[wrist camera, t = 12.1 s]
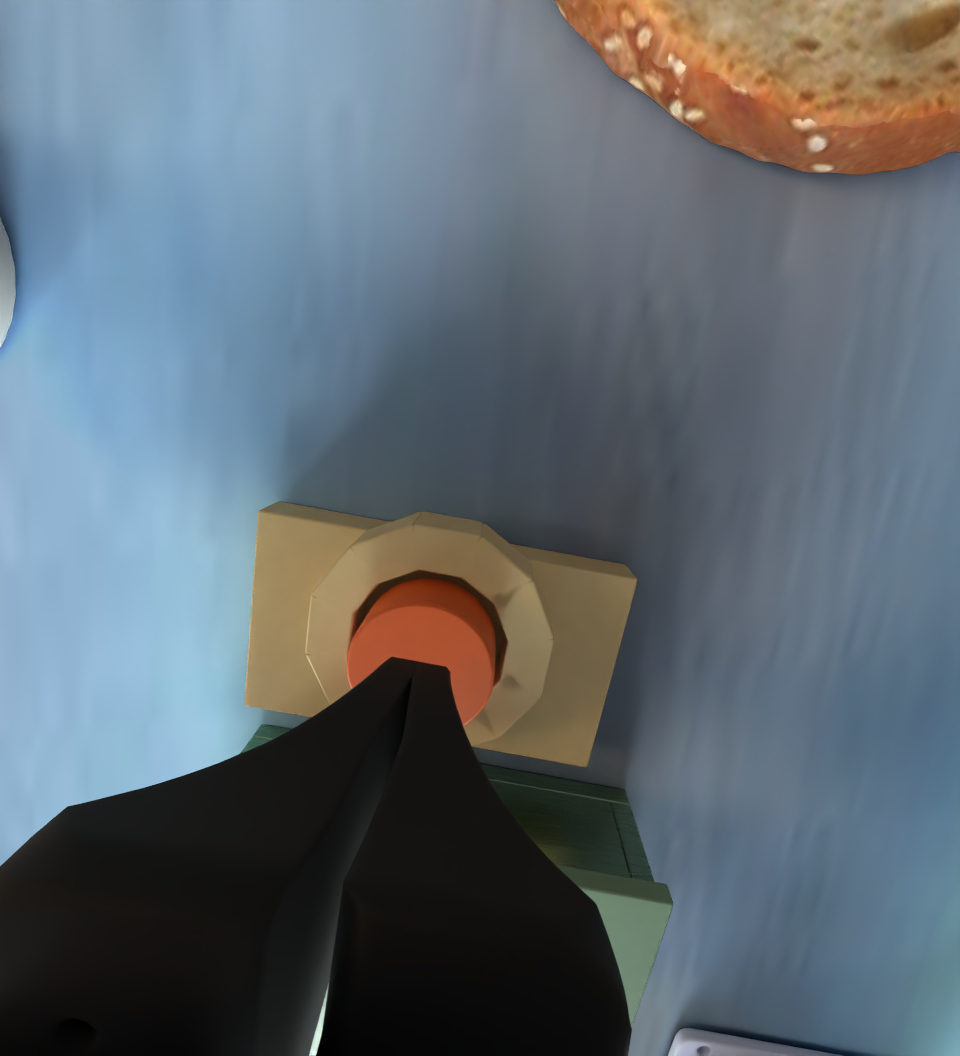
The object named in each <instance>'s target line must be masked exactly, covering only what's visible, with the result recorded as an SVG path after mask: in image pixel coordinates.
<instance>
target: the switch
mask: <svg viewBox="0 0 960 1056" xmlns="http://www.w3.org/2000/svg"><path fill="white" fill-rule="evenodd" d="M495 653H496V637H495V631H494V627H493V624H492V621H491V619H490V616H489V614H488V613H487V611H486V610H485V608H484V607H483V605H482V604H481V603H480V602H479V601H478V600H477V599H476V598H475V597H474V596H473V595H472V594H471V593H469V592H468V591H466V590H465V589H463V588H461V587H459V586H457V585H455V584H453V583H450V582H447V581H443V580H437V579H416V580H411V581H407V582H404V583H401V584H399V585H396V586H395V587H393V588H391V589H389V590H388V591H387V592H385V593H384V594H383V595H382V596H381V597H380V598H379V599H378V600H377V601H376V602H375V604H374V605H373V606H372V608H371V610H370V611H369V613H368V614H367V616H366V617H365V619H364V621H363V622H362V624H361V625H360V627H359V628H358V630H357V632H356V633H355V635H354V637H353V639H352V641H351V644H350V646H349V650H348V655H347V665H346V667H347V676H348V680H349V685H350V687H351V689H352V688H354V687H355V686H356V685H358V684H359V683H360V682H361V681H363V680H364V679H365V678H366V677H367V676H369V675H370V674H371V673H372V672H373V671H375V670H376V669H377V668H378V667H379V666H380V665H381V664H382V663H384V662H385V661H386V660H387V659H389V658H390V657H397V658H403V659H408V660H414V661H419V662H425V663H430V664H435V665H441V666H446V667H447V668H448V669H449V671H450V672H451V674H450V677H451V686H452V691H453V695H454V699H455V703H456V706H457V709H458V712H459V715H460V718H461V721H462V724H463V726H464V725H466V724H467V723H469V722H470V721H471V720H472V719H473V718H474V717H476V716H477V715H478V714H479V712H480V711H481V710H482V709H483V708H484V706H485V704H486V703H487V701H488V699H489V697H490V695H491V692H492V689H493V685H494V679H495Z"/></svg>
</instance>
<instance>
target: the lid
mask: <svg viewBox="0 0 960 1056" xmlns="http://www.w3.org/2000/svg"><path fill="white" fill-rule="evenodd" d="M555 865H556V866H557V867H558V868H559V869H560V870H561V871H562V872H563V873H564V874H565V875H566V876H567V877H569V878H570V879H571V880H572V881H573V882H574V883H575V884H576V885H577V886H578V887H579V888H580V889H581V890H582V891H583V892H584V893H586V894H587V895H588V896H589V897H590V898H591V899H592V900H593V901H594V902H595V903H596V905H597V906H598V909H599V912H600V914H601V917H602V920H603V923H604V925H605V928H606V931H607V934H608V937H609V940H610V943H611V946H612V949H613V952H614V955H615V958H616V961H617V964H618V967H619V971H620V974H621V978H622V982H623V986H624V990H625V994H626V1000H627V1005H628V1012H629V1019H630V1023H631V1028H632V1026H633V1023H634V1020H635V1017H636V1014H637V1011H638V1008H639V1005H640V1002H641V999H642V996H643V993H644V990H645V987H646V984H647V981H648V978H649V976H650V973H651V970H652V967H653V964H654V961H655V958H656V955H657V952H658V949H659V946H660V943H661V940H662V937H663V934H664V931H665V928H666V925H667V922H668V919H669V916H670V914H671V911H672V908H673V901H672V898H671V895H670V892H669V890H668V887H667V885H666V884H662V883H657V882H651V881H646V880H640V879H635V878H629V877H624V876H618V875H613V874H607V873H602V872H596V871H591V870H585V869H580V868H574V867H569V866H563V865H558V864H555ZM328 986H329V984H328ZM327 993H328V988H327V991H326V995H325V999H324V1002H323V1006H322V1010H321V1013H320V1017H319V1020H318V1024H317V1028H316V1031H315V1035H314V1039H313V1042H312V1046H311V1050H310V1053H309V1054H313V1055H316V1053H317V1049H318V1046H319V1042H320V1039H321V1035H322V1029H323V1022H324V1015H325V1008H326V1001H327Z"/></svg>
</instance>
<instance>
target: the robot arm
mask: <svg viewBox="0 0 960 1056" xmlns="http://www.w3.org/2000/svg"><path fill="white" fill-rule="evenodd" d="M450 674H451V672H450V671H449V669H448V668H447V667H446V666H441V665H435V664H430V663H425V662H419V661H414V660H408V659H403V658H397V657H390V658H389V659H387V660H386V661H385V662H384V663H382V664H381V665H380V666H379V667H378V668H377V669H376V670H375V671H373V672H372V673H371V674H370V675H369V676H367V677H366V678H365V679H364V680H363V681H361V682H360V683H359V684H358V685H356V686H355V687H354V688H352V689H351V690H350V691H349V692H347V693H346V694H345V695H343V696H342V697H341V698H339V699H338V700H337V701H335V702H334V703H332V704H331V705H329V706H328V707H326V708H325V709H323V710H322V711H320V712H319V713H317V714H316V715H314V716H313V717H311V718H310V719H308V720H307V721H305V722H304V723H302V724H300V725H299V726H297V727H295V728H293V729H292V730H290V731H288V732H286V733H284V734H282V735H280V736H278V737H276V738H274V739H273V740H270V741H268V742H266V743H264V744H262V745H260V746H257V747H255V748H253V749H251V750H248V751H246V752H244V753H241V754H239V755H237V756H234V757H232V758H230V759H227V760H225V761H223V762H220V763H218V764H215V765H212V766H210V767H207V768H204V769H201V770H198V771H196V772H193V773H190V774H187V775H184V776H181V777H178V778H175V779H172V780H168V781H165V782H162V783H159V784H155V785H152V786H149V787H145V788H142V789H138V790H134V791H130V792H126V793H122V794H118V795H114V796H110V797H106V798H102V799H98V800H94V801H90V802H86V803H82V804H77V805H73V806H68V807H66V808H65V809H64V810H63V811H62V812H60V813H59V814H58V815H57V816H56V817H55V818H53V819H52V820H51V821H50V822H49V823H47V824H46V825H45V826H44V827H43V828H42V829H40V830H39V831H38V832H37V833H36V834H34V835H33V836H32V837H31V838H30V839H29V840H28V841H27V842H26V843H25V844H24V845H23V846H22V847H20V848H19V849H18V850H17V851H16V852H15V853H14V854H13V855H12V856H11V857H10V858H9V859H8V860H7V861H6V862H5V863H3V864H2V865H1V866H0V1056H309V1053H310V1050H311V1046H312V1042H313V1039H314V1035H315V1031H316V1028H317V1024H318V1020H319V1017H320V1013H321V1010H322V1006H323V1002H324V999H325V995H326V991H327V988H328V993H327V1001H326V1008H325V1015H324V1022H323V1029H322V1035H321V1039H320V1042H319V1046H318V1049H317V1053H316V1056H628V1051H629V1044H630V1038H631V1032H632V1028H631V1023H630V1019H629V1012H628V1005H627V1000H626V994H625V990H624V986H623V982H622V978H621V974H620V971H619V967H618V964H617V961H616V958H615V955H614V952H613V949H612V946H611V943H610V940H609V937H608V934H607V931H606V928H605V925H604V923H603V920H602V917H601V914H600V912H599V909H598V906H597V905H596V903H595V902H594V901H593V900H592V899H591V898H590V897H589V896H588V895H587V894H586V893H584V892H583V891H582V890H581V889H580V888H579V887H578V886H577V885H576V884H575V883H574V882H573V881H572V880H571V879H570V878H569V877H567V876H566V875H565V874H564V873H563V872H562V871H561V870H560V869H559V868H558V867H557V866H556V865H555V864H554V863H553V862H552V861H551V860H550V859H549V858H548V857H547V856H546V855H545V854H544V853H543V852H542V850H541V849H540V848H539V847H538V846H537V845H536V844H535V843H534V842H533V840H532V839H531V838H530V837H529V836H528V835H527V834H526V832H525V831H524V830H523V828H522V827H521V826H520V825H519V823H518V822H517V821H516V819H515V818H514V817H513V815H512V814H511V813H510V811H509V810H508V809H507V807H506V806H505V805H504V803H503V802H502V800H501V799H500V797H499V795H498V794H497V792H496V791H495V789H494V788H493V786H492V784H491V783H490V781H489V779H488V777H487V776H486V774H485V772H484V770H483V769H482V767H481V765H480V763H479V761H478V759H477V757H476V755H475V753H474V750H473V748H472V746H471V744H470V741H469V739H468V737H467V734H466V732H465V729H464V727H463V724H462V721H461V718H460V715H459V712H458V709H457V706H456V703H455V699H454V695H453V691H452V686H451V677H450ZM328 984H329V986H328ZM668 1056H842V1055H837V1054H831V1053H826V1052H820V1051H815V1050H809V1049H804V1048H798V1047H792V1046H787V1045H781V1044H776V1043H770V1042H765V1041H759V1040H754V1039H748V1038H743V1037H737V1036H731V1035H726V1034H720V1033H715V1032H709V1031H704V1030H698V1029H693V1028H684V1029H681V1030H679V1031H678V1032H677V1034H676V1035H675V1038H674V1041H673V1043H672V1046H671V1049H670V1051H669V1054H668Z"/></svg>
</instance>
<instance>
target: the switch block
mask: <svg viewBox="0 0 960 1056" xmlns="http://www.w3.org/2000/svg"><path fill="white" fill-rule="evenodd" d="M416 579H437V580H443V581H447V582H450V583H453V584H455V585H457V586H459V587H461V588H463V589H465V590H466V591H468V592H469V593H471V594H472V595H473V596H474V597H475V598H476V599H477V600H478V601H479V602H480V603H481V604H482V605H483V607H484V608H485V610H486V611H487V613H488V614H489V616H490V619H491V621H492V624H493V627H494V631H495V637H496V653H495V679H494V685H493V689H492V692H491V695H490V697H489V699H488V701H487V703H486V704H485V706H484V708H483V709H482V710H481V711H480V712H479V714H478V715H477V716H476V717H474V718H473V719H472V720H471V721H470V722H469V723H467V724H466V725H464V726H463V727H464V729H465V732H466V734H467V737H468V739H469V741H470V744H471V746H472V747H476V748H482V749H487V750H493V751H498V752H504V753H509V754H515V755H520V756H526V757H531V758H537V759H542V760H548V761H553V762H559V763H564V764H570V765H575V766H581V767H587V766H588V763H589V759H590V755H591V752H592V748H593V744H594V740H595V737H596V733H597V729H598V726H599V722H600V718H601V714H602V711H603V707H604V703H605V700H606V696H607V692H608V688H609V685H610V681H611V677H612V674H613V670H614V666H615V662H616V659H617V655H618V651H619V648H620V644H621V640H622V636H623V633H624V629H625V625H626V622H627V618H628V614H629V610H630V607H631V603H632V599H633V596H634V592H635V588H636V584H637V579H636V577H635V576H634V575H633V573H632V572H631V571H630V569H629V568H628V567H627V566H626V565H624V564H618V563H613V562H607V561H602V560H596V559H591V558H586V557H580V556H575V555H569V554H564V553H558V552H553V551H547V550H542V549H536V548H531V547H525V546H520V545H514V544H509V543H508V542H507V541H505V540H504V539H503V538H502V537H501V536H499V535H498V534H497V533H496V532H495V531H493V530H492V529H491V528H490V527H489V526H487V525H486V524H483V523H482V522H479V521H474V520H468V519H463V518H457V517H452V516H447V515H441V514H436V513H430V512H418V513H415V514H412V515H409V516H406V517H404V518H401V519H398V520H395V521H392V522H389V521H383V520H378V519H372V518H367V517H361V516H356V515H350V514H345V513H340V512H334V511H329V510H323V509H318V508H312V507H307V506H301V505H296V504H290V503H285V502H277V503H275V504H272V505H270V506H268V507H266V508H263V509H261V510H259V512H258V524H257V538H256V552H255V566H254V579H253V593H252V607H251V621H250V634H249V648H248V662H247V676H246V689H245V703H244V704H245V705H246V706H251V707H256V708H262V709H267V710H273V711H278V712H284V713H289V714H295V715H300V716H306V717H313V716H314V715H316V714H317V713H319V712H320V711H322V710H323V709H325V708H326V707H328V706H329V705H331V704H332V703H334V702H335V701H337V700H338V699H339V698H341V697H342V696H343V695H345V694H346V693H347V692H349V691H350V690H351V687H350V685H349V680H348V676H347V667H346V665H347V655H348V650H349V646H350V644H351V641H352V639H353V637H354V635H355V633H356V632H357V630H358V628H359V627H360V625H361V624H362V622H363V621H364V619H365V617H366V616H367V614H368V613H369V611H370V610H371V608H372V606H373V605H374V604H375V602H376V601H377V600H378V599H379V598H380V597H381V596H382V595H383V594H384V593H385V592H387V591H388V590H389V589H391V588H393V587H395V586H396V585H399V584H401V583H404V582H407V581H411V580H416Z"/></svg>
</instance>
